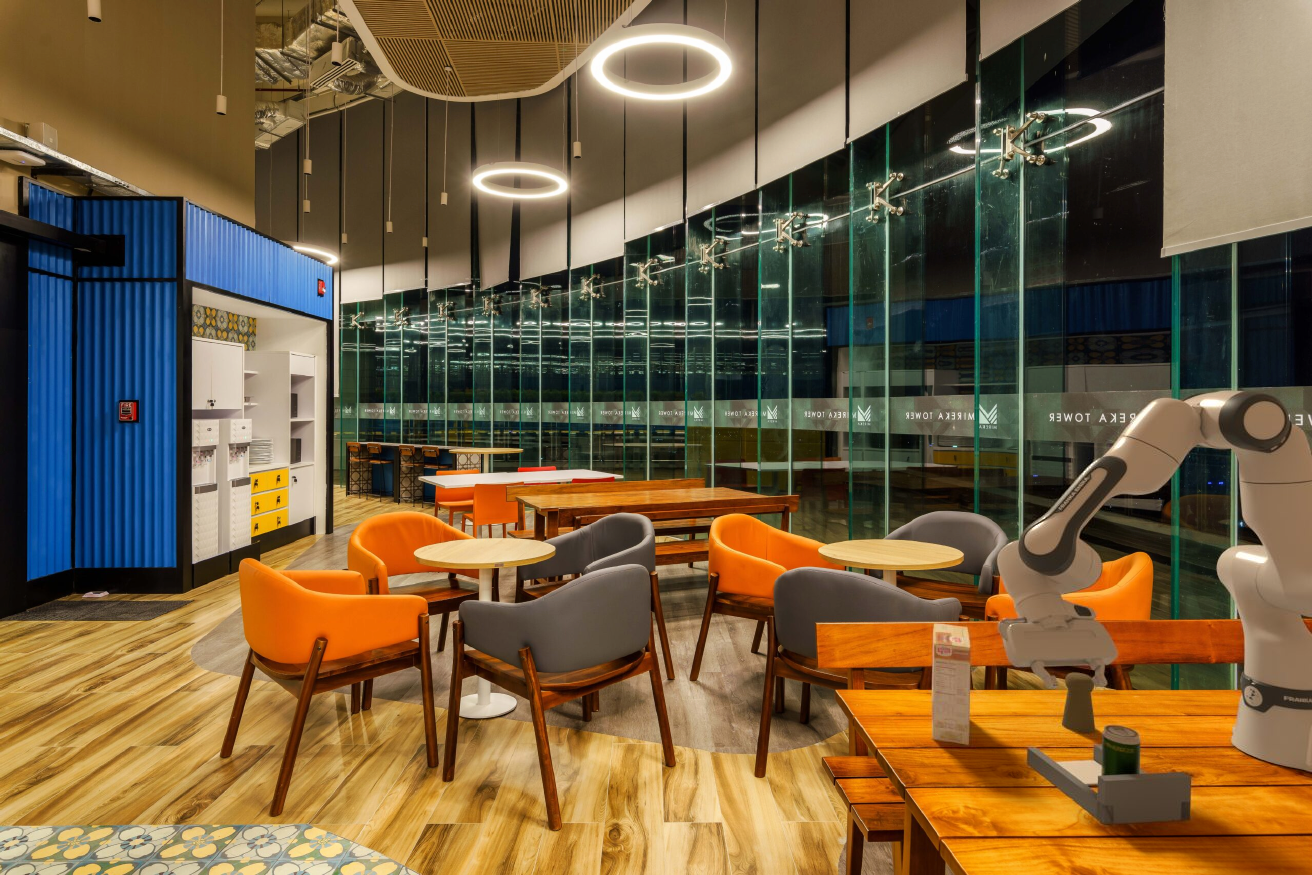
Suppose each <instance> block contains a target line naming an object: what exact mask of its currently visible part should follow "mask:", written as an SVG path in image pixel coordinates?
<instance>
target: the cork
mask: <svg viewBox="0 0 1312 875" xmlns="http://www.w3.org/2000/svg"><path fill="white" fill-rule="evenodd" d="M1091 678H1092V677H1091V676H1089V675H1088V674H1085V673H1080V672H1070V673H1067V675H1066V676H1065V678H1064V682H1065V686H1066V688H1067V692H1066V699H1065V703H1064V711H1063V715H1062V721H1061V725H1062V727H1064V728H1065V729H1067V730H1068V731H1069V730H1070V731H1072V732H1075V733H1081V734H1092V733H1095V732H1096V725H1095V717H1094V716H1095V715H1094V707H1093V699H1092V692H1093V691H1094V689H1095V685H1094V683H1093V681H1092V679H1091Z"/></svg>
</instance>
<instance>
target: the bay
mask: <svg viewBox="0 0 1312 875" xmlns="http://www.w3.org/2000/svg"><path fill="white" fill-rule="evenodd" d="M1092 751H1093V758H1092V759H1093V760H1092V759H1091V760H1090V759H1089V760H1087V759H1086V760H1070V761H1069V760H1067V761H1066V760H1065V761H1064V760H1063V761H1055V760H1053V759H1052V758H1051V757H1050V756H1048V755H1047V754H1045V753H1044V752H1043V751H1041V750H1040V749H1038V748H1037V747H1036V746H1033V747H1032V746H1030V747H1028V746H1027V747H1026V764H1027V765H1028V766H1030V767H1031V768H1032V769H1033V770H1034V771H1036V772H1037V773H1038V774H1040V775H1041V776H1042V777H1043V778H1044V779H1046V780H1047V781H1048V782H1050V783H1051V784H1052V785H1054V787H1056V788H1057V789H1058V790H1060V791H1061V792H1062V793H1064V794H1065V795H1066V796H1067V795H1068V796H1067V797H1069V796H1070V797H1071V798H1072V799H1073V800H1072V799H1071V798H1070V797H1069V798H1070V799H1071V800H1072V801H1074V802H1075V803H1076V802H1077V803H1076V804H1078V805H1079V806H1080V807H1082V809H1083V810H1085V811H1087V812H1088V813H1089V814H1090V815H1091V816H1092V817H1094V818H1095V819H1097V820H1098V821H1099V822H1100V823H1102V824H1103V825H1116V824H1135V823H1139V824H1140V823H1154V822H1155V823H1157V822H1174V821H1175V822H1176V821H1190V820H1191V805H1192V803H1191V801H1192V799H1191V798H1192V776H1191V775H1190V774H1187V772H1184V771H1173V772H1155V773H1154V772H1151V773H1149V772H1148V773H1147V772H1146V771H1144V770H1143V769H1141V768H1140V774H1127V775H1105V776H1101V770H1102V743H1101V744H1100V743H1099V744H1098V743H1097V744H1093V750H1092ZM1090 786H1097V791H1095V789H1093V788H1091V787H1090ZM1172 820H1174V821H1172Z"/></svg>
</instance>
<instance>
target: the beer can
mask: <svg viewBox="0 0 1312 875" xmlns="http://www.w3.org/2000/svg"><path fill="white" fill-rule="evenodd" d="M1101 744H1102V770H1101V776H1105V775H1127V774H1140V769H1141V739H1140V734H1139V732H1138V731H1136V729H1135V730H1134V729H1132V728H1129V727H1126V726H1123V725H1115V724H1109V725H1105V726H1104V728H1103V732H1102V741H1101Z"/></svg>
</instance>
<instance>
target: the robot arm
mask: <svg viewBox="0 0 1312 875" xmlns="http://www.w3.org/2000/svg"><path fill="white" fill-rule="evenodd" d="M1195 447H1205V448H1212V449H1216V450H1217V449H1218V450H1229V449H1231V450H1232V451H1233V452H1234V454H1235V456H1236V458H1237V460H1238V478H1239V480H1238V482H1239V490H1240V503H1241V505H1240V506H1241V515H1242V518H1243V521H1244V522H1245V524H1246V526H1248V527H1249V528H1250V529H1251V530H1252V531H1253V532H1254V533H1255V534H1256V535H1257V537H1258V539H1259V540H1260V542H1261V544H1262V545H1259V544H1258V545H1257V544H1254V545H1253V544H1246V545H1245V544H1244V545H1243V544H1242V545H1241V544H1240V545H1236V546H1234V545H1233V546H1232V547H1228V548H1227V549H1226V550H1225V551H1223V552H1222V553H1221V554H1220V556H1219V558H1218V560H1217V564H1216V572H1217V573H1216V574H1217V576H1218V579H1219V581H1220V582H1221V583H1222V585H1223V586H1224V587H1225V589H1227V591H1228V592H1229V594H1230V595H1231V598H1232V599H1233V601H1234V604H1235V606H1236V609H1237V612H1238V614H1239V618H1240V620H1241V626H1242V629H1243V636H1244V663H1243V664H1244V667H1243V668H1244V670H1243V671H1242V672H1241V675H1240V691H1241V696H1240V697H1239V703H1238V708H1237V715H1236V721H1235V725H1234V726H1232V730H1231V733H1232V735H1231V738H1230V743H1231V744H1232V745H1233V746H1234V747H1235V748H1237V749H1238V750H1240V751H1242V752H1243V753H1246V754H1248V755H1250V756H1253V757H1254V758H1257V759H1260V760H1263V761H1266V762H1269V763H1272V764H1275V765H1280V766H1284V767H1287V768H1288V767H1289V768H1293V769H1297V770H1298V769H1299V770H1304V771H1306V772H1310V773H1312V632H1310V630H1309V628H1307V626H1306V624H1305V623H1304V620H1303V618H1302V616H1304V617H1309V618H1312V451H1311V450H1312V449H1311V447H1310V444H1309V441H1308V438H1307V435H1306V433H1305V431H1304V430H1303V429H1302V428H1300V427H1299V426H1297V425H1296V424H1294V423H1292V421H1291V419H1290V415H1289V412H1288V410H1287V408H1286V406H1285V405H1284V403H1282V401H1281V400H1280V399H1278V398H1277V397H1275V396H1273V395H1271V394H1270V393H1269V394H1268V393H1265V392H1261V391H1256V390H1246V391H1242V390H1218V391H1213V392H1207V393H1205V392H1203V393H1202V392H1201V393H1196V394H1195V393H1194V394H1192V395H1189V396H1186V397H1184V398H1182V399H1178V398H1173V397H1161V398H1156V399H1154V400H1152V401H1151V402H1149V403H1148V404H1147V405H1146V406H1145V407H1144V408H1143V409H1142V410H1141V411H1139V413H1138V414H1137V415H1136V416H1135V417H1134V418H1133V419H1132V420H1131V422H1129V424H1128V425H1127V426H1126V427H1125V429H1124V430H1123V431H1122V432H1121V434H1120V436H1119V437H1118V438H1117V440H1115V442H1114V443H1113V445H1112V446H1111V447H1110V448H1109V450H1107V452H1106V453H1104V455H1102V456H1101V457H1099V458H1097V459H1096V460H1094V461H1093V462H1092V463H1091V464H1090V465H1088V466H1087V467H1086V468H1085V469H1084V471H1083V472H1082V473H1081V474H1079V476H1078V477H1077V478H1076V479H1075V481H1073V483H1072V484H1070V486H1069V487H1068V488H1067V489H1066V490H1065V492H1064V493H1063V494H1062V495H1061V496H1060V498H1059V499H1058V500H1057V501H1055V503H1054V505H1053V506H1052V507H1050V509H1049V510H1048V511H1047V512H1046V513H1044V514H1043V515H1041V517H1039V518H1038V519H1036V520H1035V521H1033V522H1032V523H1030V524H1029V525H1028V526H1027V527H1026V528H1025V529H1024V531H1022V533H1021V535H1020V537H1019V539H1017V540H1014V541H1011V542H1009V543H1008V544H1006V545H1005V546H1003V547H1002V548H1001V549H1000V551H998V554H997V559H996V564H997V568H998V572H999V575H1000V578H1001V581H1002V584H1003V586H1004V588H1005V591H1006V593H1007V594H1008V596H1010V598H1011V599H1012V601H1013V606H1014V610H1015V612H1016V615H1017V617H1015V618H1009V617H1008V618H1002V619H1001V620H1000V621H998V622H997V623H998V624H997V630H998V632H999V635H1000V637H1001V638H1002V642H1003V647H1004V650H1005V654H1006V657H1007V659H1008V662H1009V663H1010V664H1011V665H1012V666H1014V667H1016V668H1031V670H1032V673H1033V674H1035V675H1036V676H1037V677H1038V678H1040V679H1041V681H1043V683H1044V686H1045V688H1046V689H1056V688H1057V687H1059V681H1057V677H1056V675H1051V674H1050V673H1049V672H1048V671H1047V670H1046V669H1045V667H1066V666H1071V667H1072V666H1073V667H1074V666H1089V667H1090V669H1091V670H1093V671H1094V676H1093V677H1091V679H1092V681H1093V683H1094V688H1104V687H1106V686H1107V685H1108V680H1107V679H1106V677H1105V668H1106V666H1107V665H1110V664H1112V662H1114V660H1116V659H1117V658H1118V654H1119V651H1118V648H1117V647H1116V645H1115V642H1114V641H1113V639H1112V637H1111V635H1110V634H1109V632H1108V631H1107V629H1106V628H1105V626H1104V625H1103V624H1102V623H1101V622H1099V621H1098V620H1096V618H1097V616H1098V615H1097V613H1096V611H1095V609H1093V608H1092V607H1089V606H1085V605H1081V604H1077V603H1074V602H1071V601H1069V600H1065V599H1063V597H1062V595H1068V594H1072V593H1076V592H1079V591H1082V590H1085V589H1088V588H1090V587H1092V586H1093V585H1095V584H1096V583H1097V582H1098V581H1099V579H1100V577H1101V576H1102V574H1103V567H1104V566H1103V561H1102V558H1101V556H1100V554H1099V553H1098V551H1096V550H1095V549H1094V548H1092V547H1091V546H1090V545H1089V544H1088V543H1086V542H1085V541H1083V539H1081V538H1080V535H1081V531H1082V530H1083V528H1085V526H1086V525H1087V524H1088V523H1089V521H1091V520H1092V518H1093V517H1094V515H1095V514H1096V513H1097V512H1098V511H1099V510H1100V509H1101V508H1102V507H1103V505H1104V504H1105V503H1106V502H1107V501H1109V500H1110V499H1112V498H1113V497H1115V496H1120V495H1132V496H1139V495H1143V496H1144V495H1147V494H1148V495H1149V494H1152V493H1155V492H1157V491H1158V490H1159V489H1161V488H1162V487H1163V486H1165V484H1167V482H1168V481H1169V480H1170V479H1171V478H1172V476H1173V475H1174V474H1175V473H1176V471H1177V470H1178V468H1179V467H1180V466H1181V465H1182V463H1183V461H1184V459H1185V457H1186V456H1187V455H1188V453H1189V452H1191V450H1192V449H1193V448H1195Z"/></svg>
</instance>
